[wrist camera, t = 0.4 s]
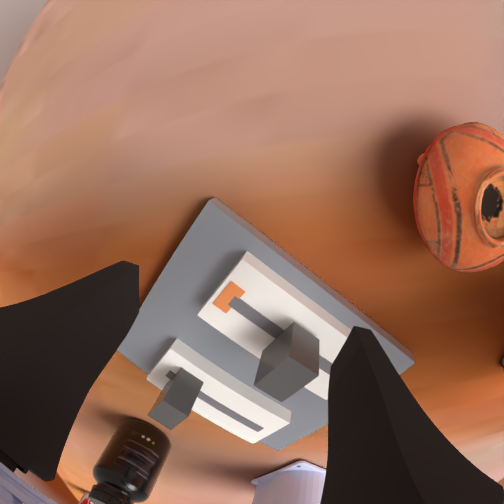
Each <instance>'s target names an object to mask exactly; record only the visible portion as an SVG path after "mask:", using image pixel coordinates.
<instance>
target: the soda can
mask: <svg viewBox="0 0 504 504" xmlns="http://www.w3.org/2000/svg"><path fill="white" fill-rule="evenodd" d="M89 493H90V492H86V493H84V495H83V496H82V498H81V500H80V501H79V503H78V504H95V503H93V502H92V501H91V500H90V499H89V498H88V495H89Z"/></svg>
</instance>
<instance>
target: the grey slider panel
mask: <svg viewBox="0 0 504 504" xmlns="http://www.w3.org/2000/svg"><path fill="white" fill-rule="evenodd" d="M293 322H295V323H297V324H298V325H299V326H301V327H302V328H304V329H305V330H306V331H308V332H309V333H311V334H312V335H313V336H315V337H316V338H318V339H319V340H320V341H319V376H318V377H316V378H315V379H314V380H312V381H311V382H310V383H308V384H307V385H306V386H304V387H303V388H302V389H300V390H299V391H297V392H296V393H294V394H293V395H292V396H290V397H289V398H287V399H286V400H284V401H283V402H280V401H278V400H277V399H275V398H273V397H271V396H270V395H268V394H266V393H265V392H263V391H261V390H260V389H258V388H257V387H255V386H253V385H254V381H255V377H256V373H257V370H258V366H259V362H260V358H261V354H262V351H263V350H264V349H265V348H266V347H267V346H268V345H269V344H270V343H271V342H273V341H274V340H275V339H276V338H277V337H278V336H279V335H280V334H281V333H282V332H283V331H284V330H285V329H287V328H288V327H289V326H290V325H291V324H292V323H293ZM354 326H358V327H362V328H366V329H371V331H372V332H373V334H374V335H375V337H376V338H377V340H378V341H379V343H380V345H381V346H382V348H383V349H384V351H385V353H386V354H387V356H388V358H389V359H390V361H391V363H392V364H393V366H394V367H395V369H396V371H397V372H398V374H399V375H401V374H402V373H403V372H404V371H406V370H407V369H408V368H409V367H411V366H412V365H413V364H414V363H416V362H415V360H414V357H413V354H412V352H411V351H410V350H408V349H407V348H406V347H405V346H404V345H402V344H401V343H400V342H399V341H398V340H396V339H395V338H394V337H393V336H391V335H390V334H389V333H388V332H387V331H385V330H384V329H383V328H382V327H380V326H379V325H378V324H377V323H375V322H374V321H373V320H372V319H371V318H369V317H368V316H367V315H366V314H364V313H363V312H362V311H361V310H359V309H358V308H357V307H356V306H354V305H353V304H352V303H351V302H349V301H348V300H347V299H346V298H344V297H343V296H342V295H341V294H339V293H338V292H337V291H336V290H334V289H333V288H332V287H331V286H329V285H328V284H327V283H326V282H324V281H323V280H322V279H320V278H319V277H318V276H317V275H315V274H314V273H313V272H312V271H310V270H309V269H308V268H306V267H305V266H304V265H303V264H301V263H300V262H299V261H298V260H296V259H295V258H294V257H292V256H291V255H290V254H289V253H287V252H286V251H285V250H283V249H282V248H281V247H280V246H278V245H277V244H276V243H274V242H273V241H272V240H271V239H269V238H268V237H267V236H265V235H264V234H263V233H261V232H260V231H259V230H258V229H256V228H255V227H254V226H252V225H251V224H250V223H248V222H247V221H246V220H245V219H243V218H242V217H241V216H239V215H238V214H237V213H235V212H234V211H233V210H231V209H230V208H229V207H227V206H226V205H225V204H223V203H222V202H221V201H219V200H218V199H217V198H216V197H214V198H212V199H211V200H209V201H208V202H207V204H206V205H205V207H204V208H203V210H202V211H201V213H200V214H199V216H198V217H197V219H196V220H195V222H194V223H193V225H192V226H191V228H190V229H189V231H188V232H187V234H186V235H185V237H184V238H183V240H182V241H181V243H180V244H179V246H178V248H177V249H176V251H175V252H174V254H173V255H172V257H171V258H170V260H169V262H168V263H167V265H166V266H165V268H164V270H163V271H162V273H161V274H160V276H159V278H158V279H157V281H156V283H155V284H154V286H153V287H152V289H151V291H150V292H149V294H148V296H147V297H146V299H145V301H144V302H143V304H142V306H141V307H140V309H139V314H138V316H137V317H136V319H135V321H134V323H133V325H132V327H131V329H130V331H129V333H128V334H127V336H126V337H125V339H124V340H123V342H122V343H121V345H120V346H119V347H118V349H117V351H118V352H119V353H121V354H122V355H123V356H125V357H126V358H127V359H128V360H130V361H131V362H132V363H134V364H135V365H136V366H138V367H139V368H140V369H142V370H143V371H144V372H146V373H147V374H149V375H148V376H147V378H146V379H147V380H148V381H149V382H151V383H152V384H154V385H155V386H156V387H158V388H159V389H161V390H162V391H161V393H160V395H159V397H158V398H157V400H156V402H155V404H154V405H153V407H152V409H151V410H150V412H149V414H148V416H150V417H151V418H153V419H154V420H156V421H157V422H159V423H160V424H162V425H164V426H165V427H167V428H168V429H170V430H171V429H173V428H174V427H175V426H177V425H178V424H179V423H181V422H182V421H183V420H184V419H186V418H187V417H188V416H189V414H190V412H191V410H193V411H195V412H196V413H198V414H200V415H201V416H203V417H205V418H206V419H208V420H210V421H211V422H213V423H215V424H217V425H218V426H220V427H222V428H224V429H226V430H227V431H229V432H231V433H233V434H235V435H237V436H239V437H240V438H242V439H244V440H246V441H248V442H250V443H252V444H253V443H255V442H257V441H259V442H261V443H263V444H265V445H267V446H269V447H271V448H273V449H275V450H277V451H278V450H280V449H282V448H284V447H286V446H288V445H290V444H292V443H294V442H296V441H298V440H300V439H302V438H304V437H305V436H307V435H309V434H311V433H313V432H314V431H316V430H318V429H320V428H321V427H323V426H325V425H327V424H328V387H329V377H330V368H331V365H332V364H333V362H334V360H335V358H336V357H337V355H338V353H339V352H340V350H341V348H342V346H343V345H344V343H345V341H346V339H347V337H348V336H349V334H350V332H351V330H352V328H353V327H354Z"/></svg>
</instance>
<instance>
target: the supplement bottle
mask: <svg viewBox="0 0 504 504" xmlns="http://www.w3.org/2000/svg"><path fill="white" fill-rule="evenodd" d="M170 448H171V444H170V441H169V439H168V438H167V436H166V435H165V434H164V433H163V432H162V431H160V430H159V429H158V428H156V427H154V426H153V425H151V424H149V423H147V422H144V421H142V420H138V419H126V420H123V421H122V422H121V424H120V425H119V427H118V428H117V430H116V432H115V433H114V435H113V436H112V438H111V440H110V441H109V443H108V445H107V446H106V448H105V450H104V451H103V453H102V454H101V456H100V458H99V459H98V461H97V463H96V464H95V466H94V468H93V476H94V478H95V480H96V481H97V485H93V486H92V490H91V492H90V493H89V495H88V498H89V499H90V500H91V501H92V502H93V503H95V504H134V503H140V502H144V501H146V500H147V499H148V498H149V496H150V494H151V492H152V489H153V487H154V485H155V483H156V480H157V478H158V476H159V474H160V472H161V469H162V467H163V465H164V463H165V460H166V458H167V456H168V453H169V451H170Z"/></svg>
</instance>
